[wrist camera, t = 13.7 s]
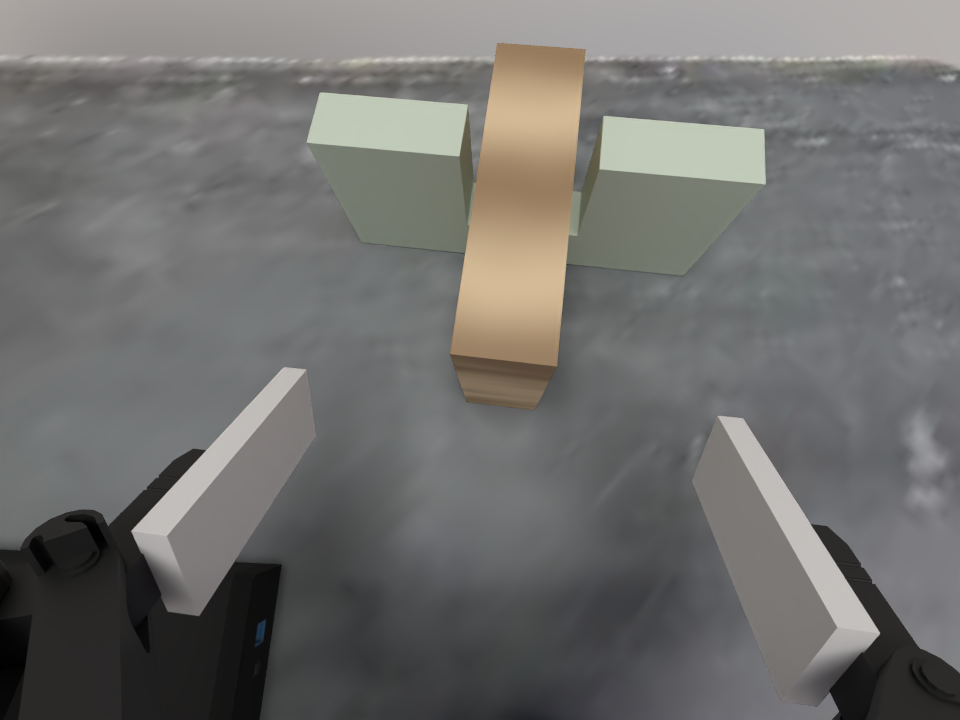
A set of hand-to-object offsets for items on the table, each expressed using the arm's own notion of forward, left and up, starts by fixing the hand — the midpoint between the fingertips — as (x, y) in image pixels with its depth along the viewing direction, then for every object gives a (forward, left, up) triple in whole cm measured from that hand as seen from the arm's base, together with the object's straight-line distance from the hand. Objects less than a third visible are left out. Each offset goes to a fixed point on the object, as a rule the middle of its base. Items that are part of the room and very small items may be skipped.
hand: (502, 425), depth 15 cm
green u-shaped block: (0, +12, -8) cm, 14 cm away
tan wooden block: (0, +9, -8) cm, 12 cm away
